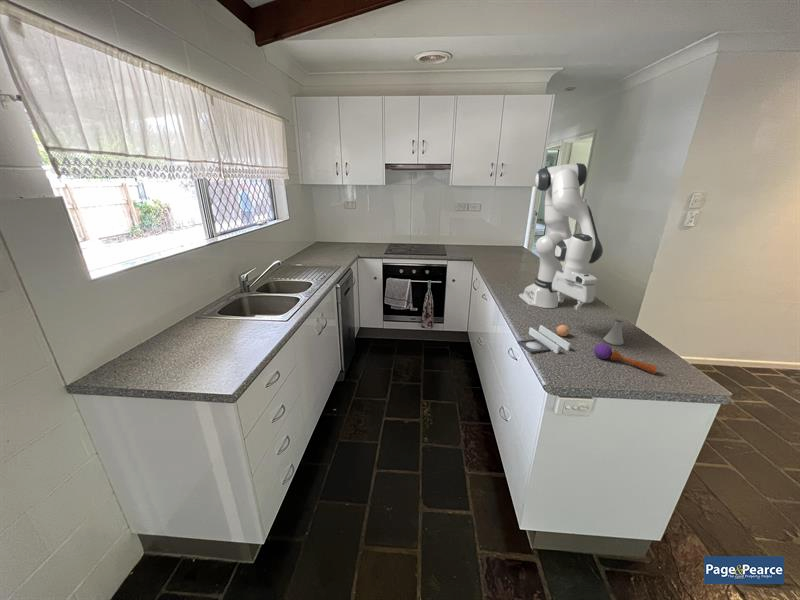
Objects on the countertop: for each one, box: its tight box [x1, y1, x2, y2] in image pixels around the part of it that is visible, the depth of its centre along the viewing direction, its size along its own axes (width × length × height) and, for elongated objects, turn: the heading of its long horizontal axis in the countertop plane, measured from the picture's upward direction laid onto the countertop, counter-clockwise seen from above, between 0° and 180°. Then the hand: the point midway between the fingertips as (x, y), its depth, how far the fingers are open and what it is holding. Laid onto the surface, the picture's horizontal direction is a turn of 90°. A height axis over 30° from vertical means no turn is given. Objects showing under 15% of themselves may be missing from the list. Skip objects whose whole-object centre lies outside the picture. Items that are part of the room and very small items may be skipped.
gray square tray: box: [517, 338, 552, 354], centre depth 133 cm, size 9×9×1 cm
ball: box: [556, 324, 570, 337], centre depth 143 cm, size 5×5×5 cm
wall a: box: [538, 324, 572, 352], centre depth 139 cm, size 18×1×3 cm, turn 15°
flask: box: [602, 318, 625, 346], centre depth 137 cm, size 7×7×10 cm
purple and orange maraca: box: [593, 343, 658, 375], centre depth 122 cm, size 6×6×20 cm
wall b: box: [528, 327, 561, 354], centre depth 136 cm, size 18×1×3 cm, turn 15°
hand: (568, 305), depth 138 cm, fingers open, 8 cm apart
